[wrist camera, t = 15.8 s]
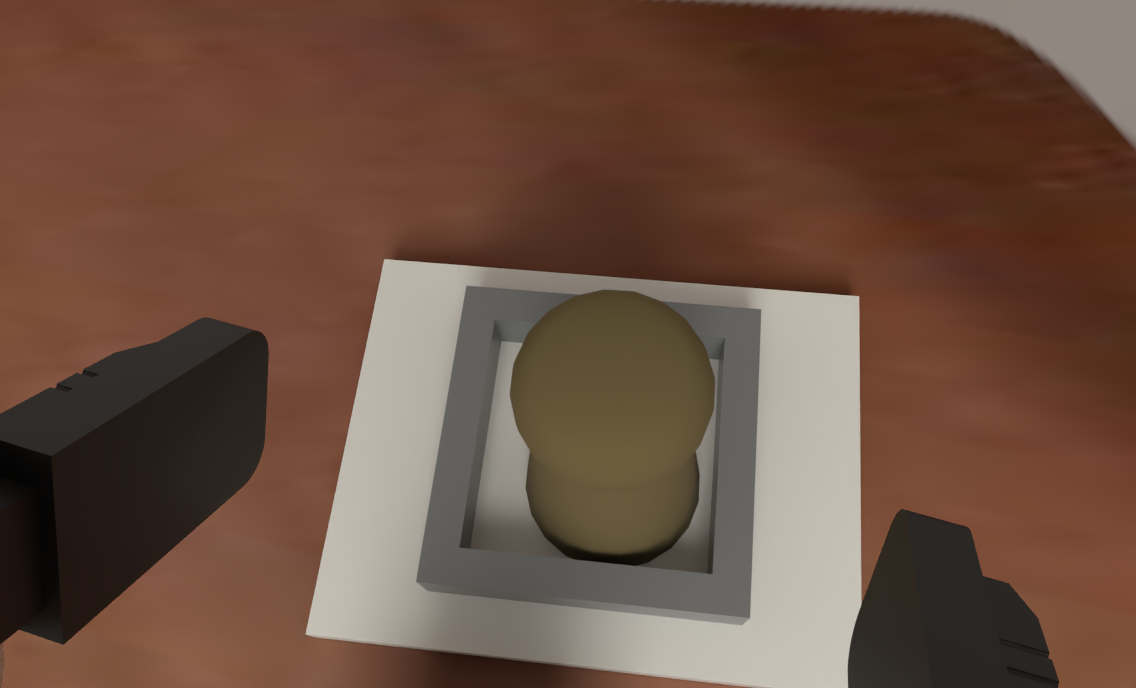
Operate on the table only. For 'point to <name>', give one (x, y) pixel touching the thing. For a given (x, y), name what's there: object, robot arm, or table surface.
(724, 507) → the socket board
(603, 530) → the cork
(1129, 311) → the table surface
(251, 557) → the table surface
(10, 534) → the robot arm
